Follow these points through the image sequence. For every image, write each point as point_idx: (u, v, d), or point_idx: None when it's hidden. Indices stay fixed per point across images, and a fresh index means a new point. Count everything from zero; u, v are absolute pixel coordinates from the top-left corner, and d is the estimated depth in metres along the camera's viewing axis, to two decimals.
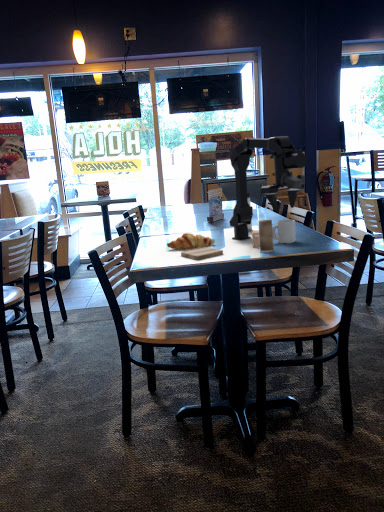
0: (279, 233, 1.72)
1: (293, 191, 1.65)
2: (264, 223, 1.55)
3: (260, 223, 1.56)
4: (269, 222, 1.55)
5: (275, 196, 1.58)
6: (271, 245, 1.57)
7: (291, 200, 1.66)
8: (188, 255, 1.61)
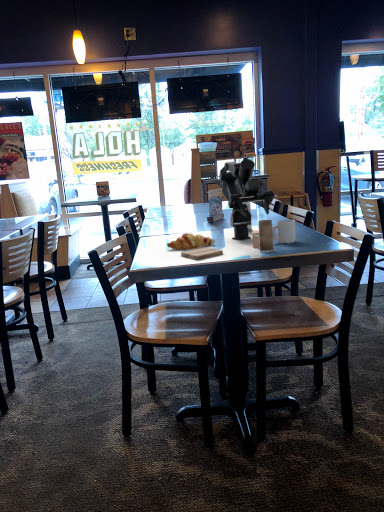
0: (279, 233, 1.72)
1: (264, 200, 1.69)
2: (264, 223, 1.55)
3: (260, 223, 1.56)
4: (269, 222, 1.55)
5: (239, 202, 1.65)
6: (271, 245, 1.57)
7: (265, 208, 1.67)
8: (188, 255, 1.61)
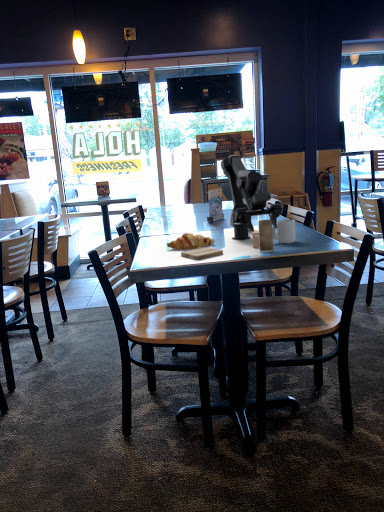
0: (279, 233, 1.72)
1: (272, 214, 1.63)
2: (264, 223, 1.55)
3: (260, 223, 1.56)
4: (269, 222, 1.55)
5: (246, 216, 1.59)
6: (271, 245, 1.57)
7: (273, 222, 1.61)
8: (188, 255, 1.61)
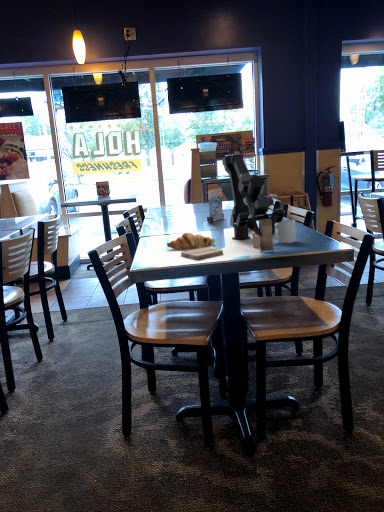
0: (279, 233, 1.72)
1: (269, 219, 1.61)
2: (264, 223, 1.55)
3: (260, 223, 1.56)
4: (269, 222, 1.55)
5: (253, 221, 1.58)
6: (271, 245, 1.57)
7: None
8: (188, 255, 1.61)
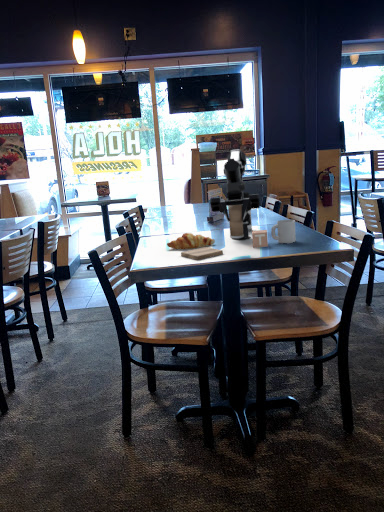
0: (279, 233, 1.72)
1: None
2: (231, 208, 1.54)
3: (228, 208, 1.55)
4: (236, 207, 1.53)
5: (223, 205, 1.57)
6: (239, 231, 1.55)
7: None
8: (188, 255, 1.61)
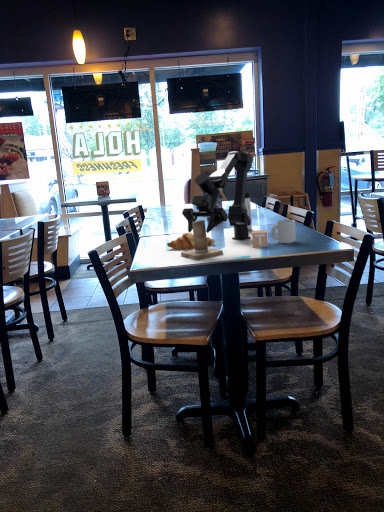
0: (279, 233, 1.72)
1: None
2: (193, 224, 1.61)
3: None
4: (196, 223, 1.59)
5: (188, 216, 1.65)
6: (200, 246, 1.61)
7: None
8: (188, 255, 1.61)
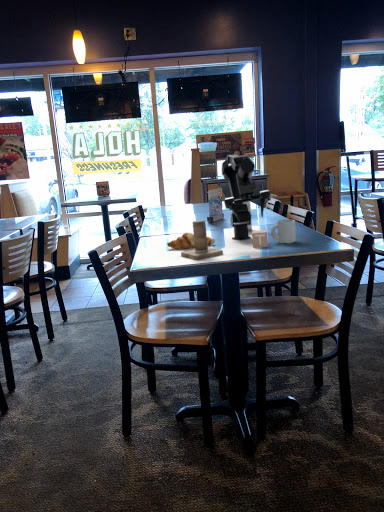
0: (279, 233, 1.72)
1: None
2: (193, 224, 1.61)
3: None
4: (197, 223, 1.59)
5: (233, 206, 1.68)
6: (200, 246, 1.61)
7: None
8: (188, 255, 1.61)
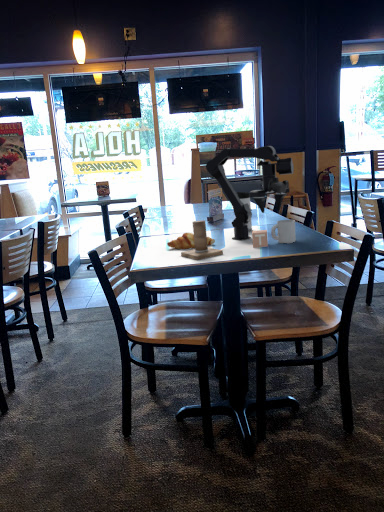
0: (279, 233, 1.72)
1: (279, 195, 1.83)
2: (193, 224, 1.61)
3: None
4: (197, 223, 1.59)
5: (263, 199, 1.76)
6: (200, 246, 1.61)
7: (278, 203, 1.84)
8: (188, 255, 1.61)
